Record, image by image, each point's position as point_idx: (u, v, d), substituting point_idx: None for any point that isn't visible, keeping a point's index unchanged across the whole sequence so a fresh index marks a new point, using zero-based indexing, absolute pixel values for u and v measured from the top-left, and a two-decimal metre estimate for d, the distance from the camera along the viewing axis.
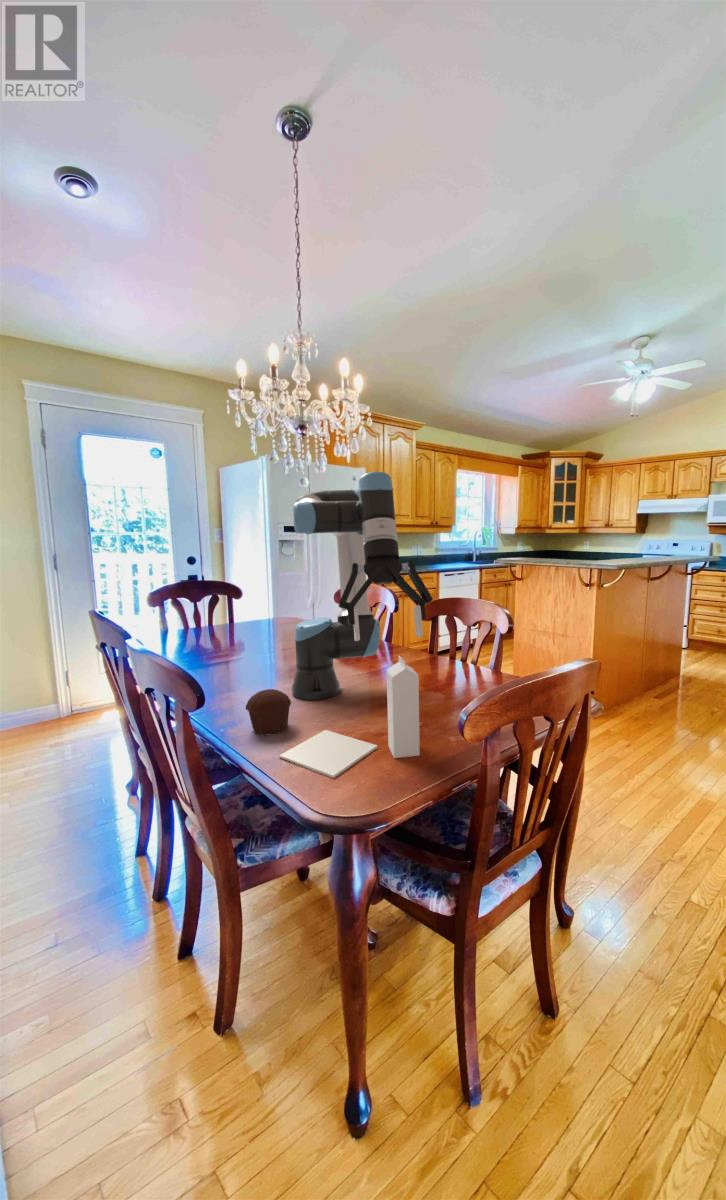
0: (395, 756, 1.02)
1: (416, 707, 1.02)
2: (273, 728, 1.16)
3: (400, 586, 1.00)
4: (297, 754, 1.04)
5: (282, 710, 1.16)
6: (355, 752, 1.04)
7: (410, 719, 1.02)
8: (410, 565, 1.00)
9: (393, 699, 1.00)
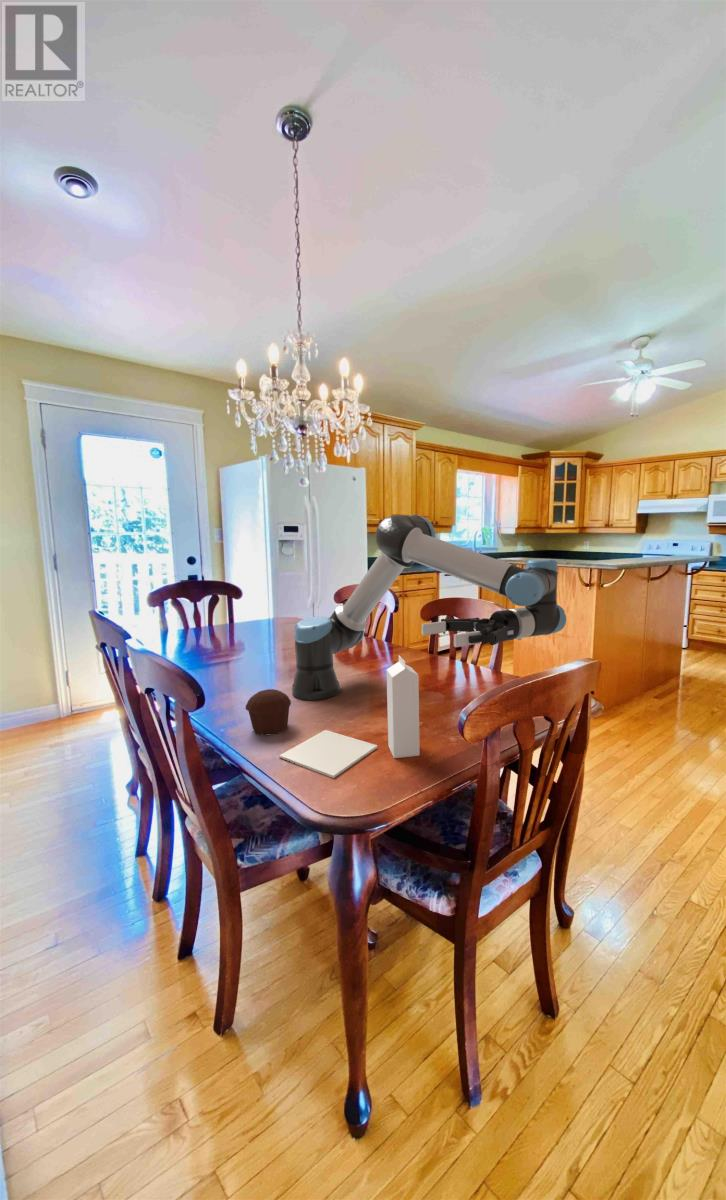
0: (395, 756, 1.02)
1: (416, 707, 1.02)
2: (273, 728, 1.16)
3: (467, 626, 1.13)
4: (297, 754, 1.04)
5: (282, 710, 1.16)
6: (355, 752, 1.04)
7: (410, 719, 1.02)
8: None
9: (393, 699, 1.00)
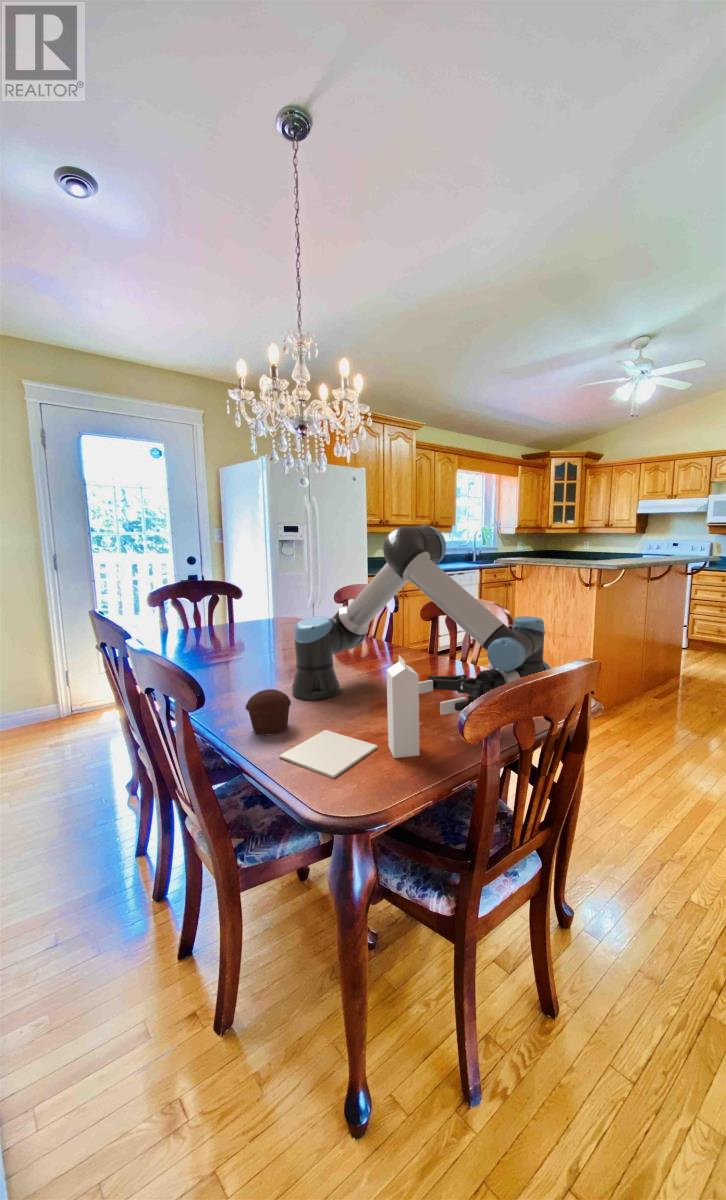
0: (395, 756, 1.02)
1: (416, 707, 1.02)
2: (273, 728, 1.16)
3: (455, 685, 1.13)
4: (297, 754, 1.04)
5: (282, 710, 1.16)
6: (355, 752, 1.04)
7: (410, 719, 1.02)
8: None
9: (393, 699, 1.00)
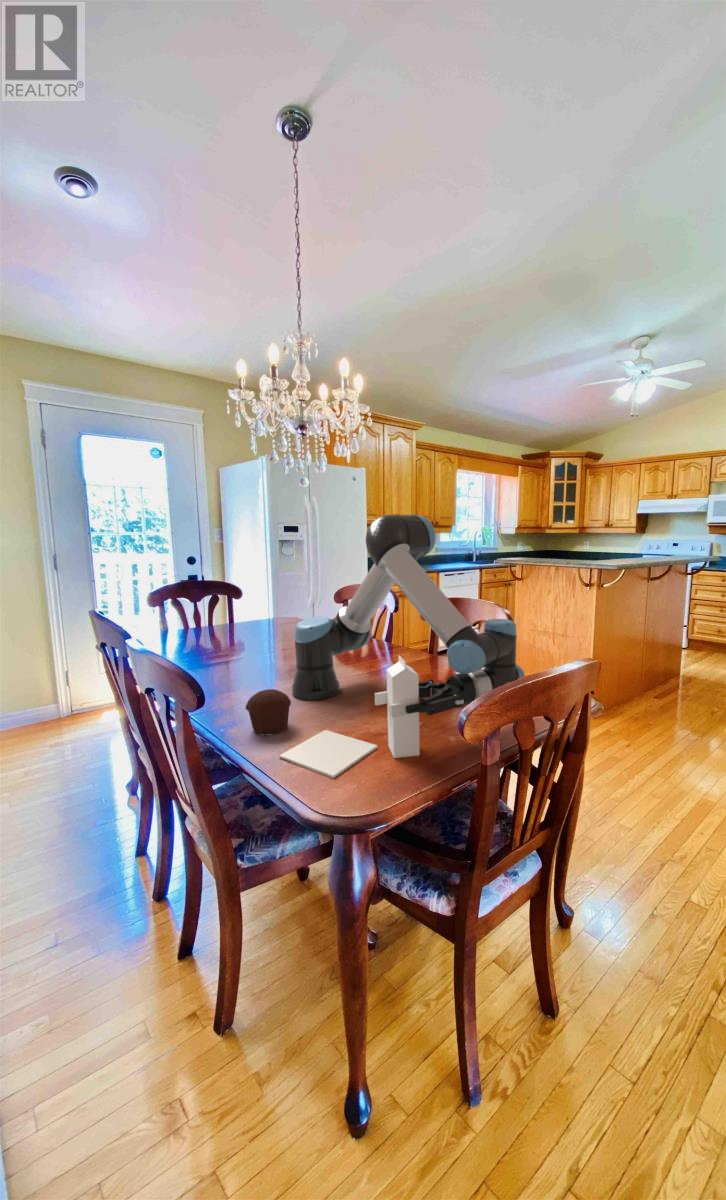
0: (395, 756, 1.02)
1: None
2: (273, 728, 1.16)
3: (425, 691, 1.09)
4: (297, 754, 1.04)
5: (282, 710, 1.16)
6: (355, 752, 1.04)
7: (410, 719, 1.02)
8: None
9: (393, 699, 1.00)
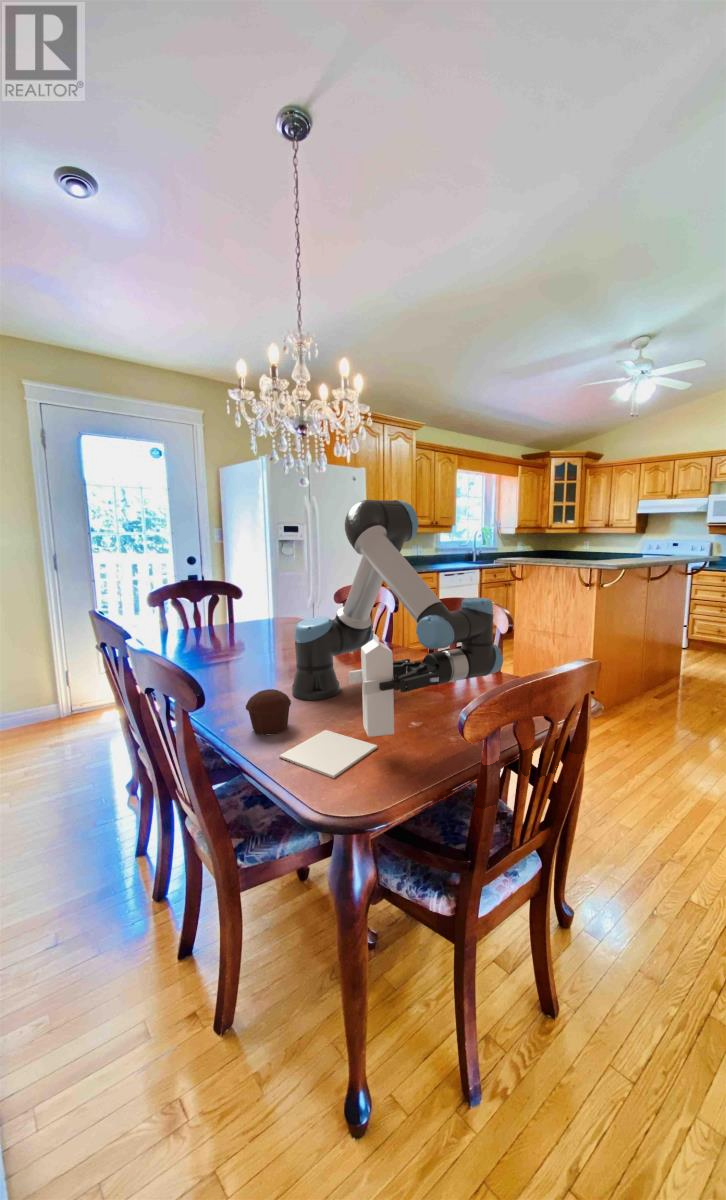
0: (369, 735, 1.01)
1: None
2: (273, 728, 1.16)
3: (400, 670, 1.07)
4: (297, 754, 1.04)
5: (282, 710, 1.16)
6: (355, 752, 1.04)
7: (384, 696, 1.00)
8: None
9: (367, 676, 0.99)
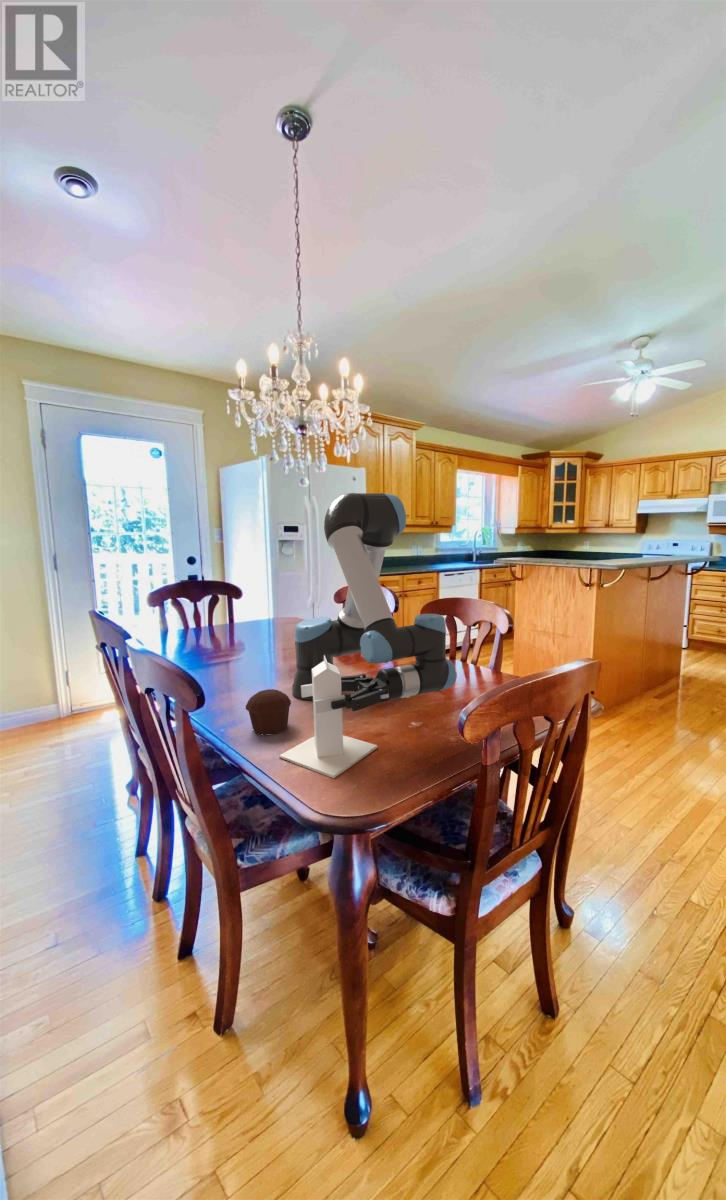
0: (319, 755, 1.03)
1: None
2: (273, 728, 1.16)
3: (352, 685, 1.10)
4: (297, 754, 1.04)
5: (282, 710, 1.16)
6: (355, 752, 1.04)
7: (333, 718, 1.02)
8: None
9: (315, 699, 1.00)
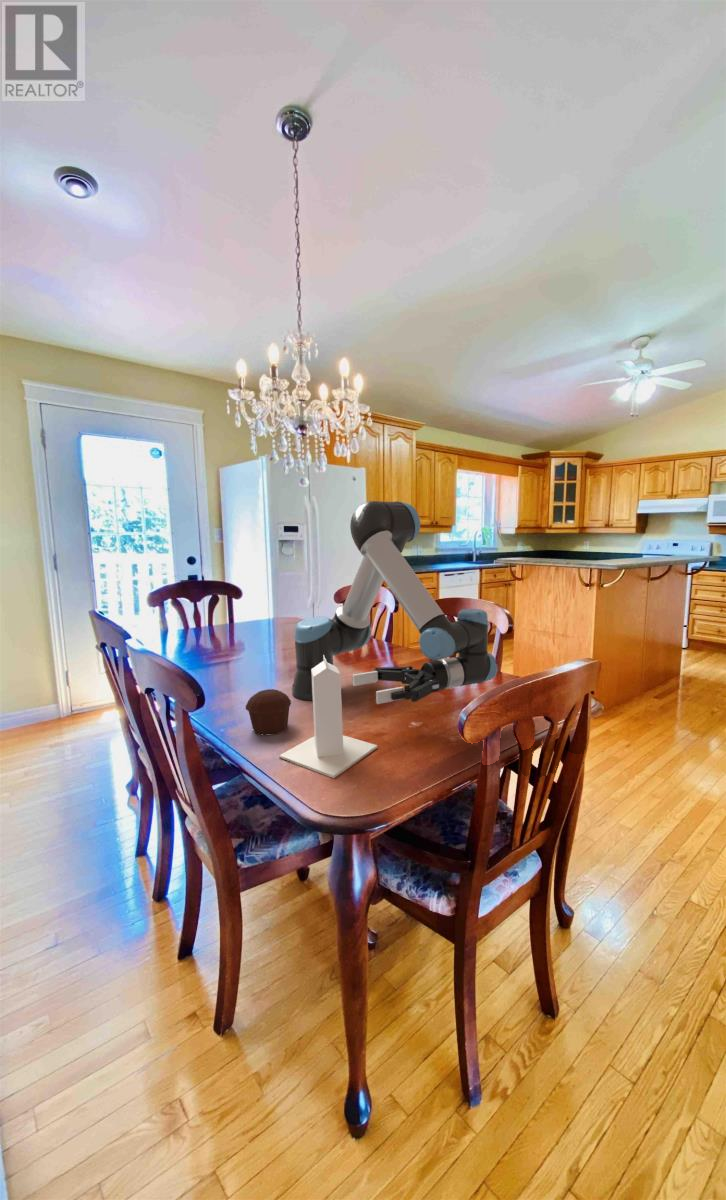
0: (319, 755, 1.03)
1: (339, 706, 1.02)
2: (273, 728, 1.16)
3: (399, 676, 1.15)
4: (297, 754, 1.04)
5: (282, 710, 1.16)
6: (355, 752, 1.04)
7: (333, 718, 1.02)
8: None
9: (315, 698, 1.01)
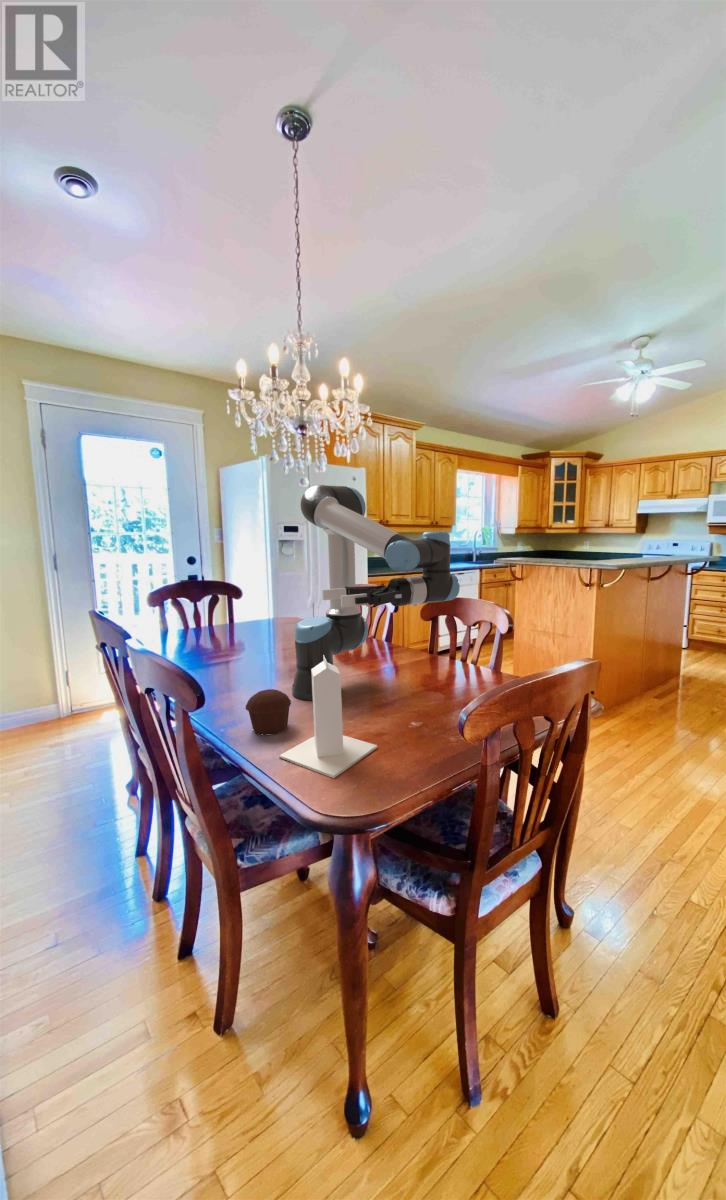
0: (319, 755, 1.03)
1: (339, 706, 1.02)
2: (273, 728, 1.16)
3: (366, 592, 1.23)
4: (297, 754, 1.04)
5: (282, 710, 1.16)
6: (355, 752, 1.04)
7: (333, 718, 1.02)
8: None
9: (315, 698, 1.01)
